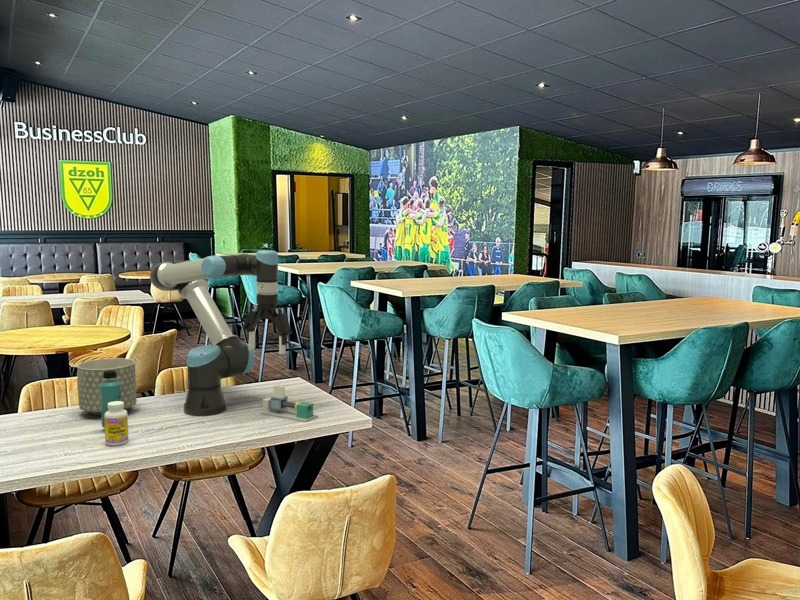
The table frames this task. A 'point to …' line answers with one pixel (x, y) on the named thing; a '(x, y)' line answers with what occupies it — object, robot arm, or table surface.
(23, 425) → the table surface
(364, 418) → the table surface
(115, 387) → the beverage bottle
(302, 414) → the slider rail
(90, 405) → the planter
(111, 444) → the supplement bottle
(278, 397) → the pale blue hollow box
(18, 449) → the table surface
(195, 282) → the robot arm
